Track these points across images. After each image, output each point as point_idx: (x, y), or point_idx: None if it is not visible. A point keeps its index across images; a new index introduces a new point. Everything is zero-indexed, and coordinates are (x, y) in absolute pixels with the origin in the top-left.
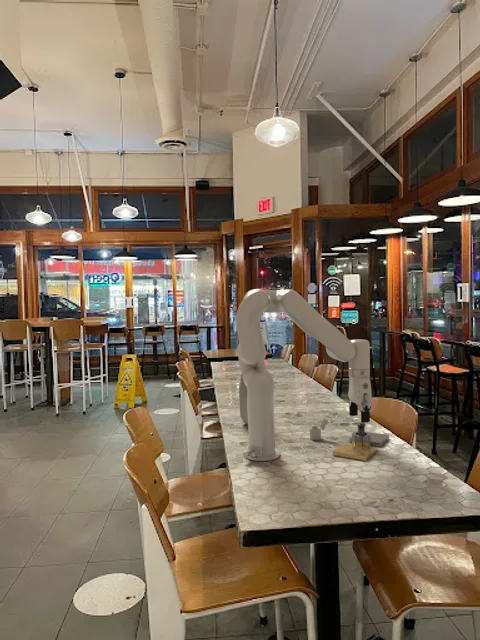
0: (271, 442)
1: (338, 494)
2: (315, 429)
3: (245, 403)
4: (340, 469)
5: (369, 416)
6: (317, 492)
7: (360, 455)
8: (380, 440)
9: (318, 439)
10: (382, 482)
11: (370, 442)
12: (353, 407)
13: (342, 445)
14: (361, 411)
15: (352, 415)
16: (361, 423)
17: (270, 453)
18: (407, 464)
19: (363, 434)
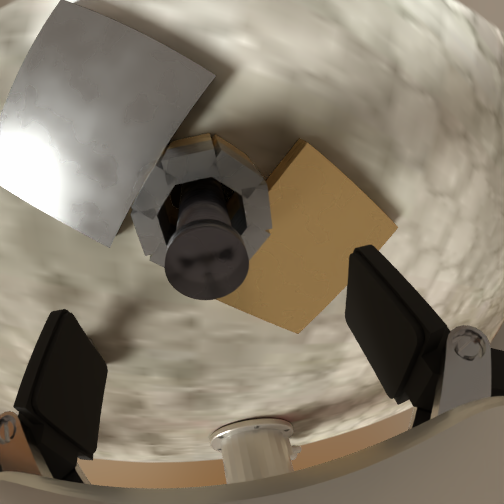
0: (285, 456)
1: (478, 309)
2: None
3: None
4: None
5: (404, 282)
6: None
7: (379, 244)
8: (160, 61)
9: (93, 345)
10: (496, 221)
11: (229, 147)
12: (75, 421)
13: (231, 296)
14: (404, 400)
15: (98, 354)
16: (198, 262)
17: (280, 435)
18: (450, 80)
19: (226, 211)
